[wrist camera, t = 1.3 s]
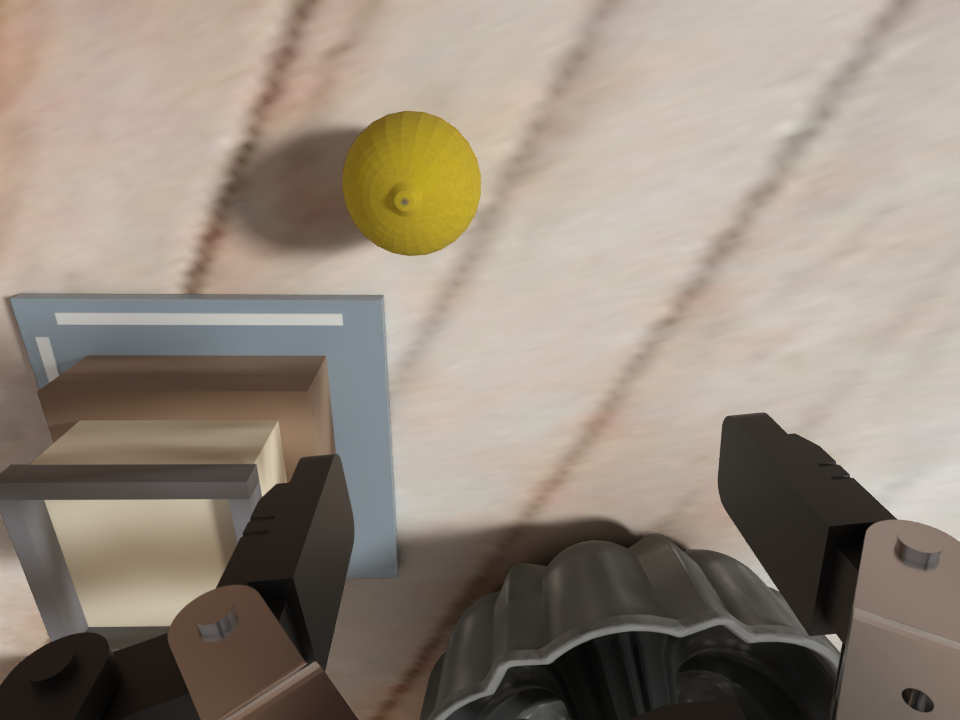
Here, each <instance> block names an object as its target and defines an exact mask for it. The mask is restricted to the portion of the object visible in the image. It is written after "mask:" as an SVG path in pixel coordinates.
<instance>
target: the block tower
mask: <svg viewBox="0 0 960 720" xmlns="http://www.w3.org/2000/svg"><path fill="white" fill-rule="evenodd" d="M37 392H38V396H39V399H40V402H41V405H42V408H43V411H44V414H45V417H46V420H47V423H48V426H49V429H50V432H51V435H52V438H53V441H54V443H53V444H52V445H51V446H50V447H49V448H47V449H46V450H45V451H44V452H43V453H42V454H40V455H39V456H38V457H37V458H36V459H35V460H34V461H32V462H31V463H30V464H29V465H10V466H9V467H8V468H7V469H5V470H4V471H3V472H2V473H1V474H0V512H1V515H2V517H3V520H4V522H5V525H6V528H7V530H8V533H9V535H10V538H11V540H12V543H13V545H14V548H15V550H16V553H17V556H18V558H19V561H20V563H21V566H22V568H23V571H24V573H25V576H26V579H27V581H28V584H29V586H30V589H31V591H32V594H33V596H34V599H35V602H36V604H37V607H38V609H39V612H40V614H41V617H42V619H43V622H44V625H45V627H46V630H47V632H48V635H49V637H50V640H51V642H52V641H55V640H57V639H60V638H62V637H65V636H68V635H72V634H77V633H84V632H90V633H97V634H100V635H102V636H103V637H105V639H106V640H107V641H108V643H109V646H110V648H111V650H112V652H114V651H117V650H120V649H123V648H126V647H129V646H132V645H135V644H138V643H141V642H144V641H147V640H149V639H152V638H155V637H158V636H161V635H163V634H166V633H168V631H169V628H170V625H171V623H172V621H173V620H174V618H175V617H176V615H177V614H178V613H179V612H180V611H181V610H182V609H183V608H184V607H185V606H186V605H187V604H188V603H190V602H191V601H193V600H194V599H195V598H197V597H199V596H200V595H202V594H204V593H206V592H208V591H210V590H213V589H216V587H217V585H218V583H219V580H220V578H221V576H222V574H223V572H224V570H225V568H226V566H227V564H228V562H229V560H230V558H231V556H232V554H233V552H234V550H235V548H236V546H237V544H238V542H239V540H240V537H243V531H244V529H245V527H246V525H247V523H248V522H250V517H251V515H252V513H253V511H254V509H255V507H256V505H257V503H258V501H259V500H260V499H261V498H262V497H263V496H264V495H265V494H266V493H267V492H268V491H269V490H270V489H271V488H272V487H273V486H275V485H276V484H279V483H289V482H290V480H291V478H292V476H293V473H294V471H295V469H296V466H297V464H298V462H299V460H300V458H302V457H308V456H318V455H329V454H336V448H335V438H334V429H333V419H332V409H331V399H330V389H329V379H328V369H327V359H326V356H216V355H88V356H87V357H85V358H84V359H82V360H81V361H79V362H78V363H77V364H75V365H74V366H72V367H71V368H70V369H68V370H67V371H65V372H64V373H62V374H61V375H60V376H58V377H57V378H55V379H54V380H53V381H51V382H50V383H48V384H47V385H45V386H44V387H43V388H41V389H40V390H38V391H37Z"/></svg>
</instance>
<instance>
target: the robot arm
mask: <svg viewBox="0 0 960 720" xmlns="http://www.w3.org/2000/svg"><path fill="white" fill-rule="evenodd" d="M718 489H719V494H720V498H721V501H722V504H723V506H724V508H725V510H726V512H727V513H728V515H729V516H730V518H731V519H732V521H733V522H734V524H735V525H736V527H737V528H738V530H739V531H740V533H741V534H742V536H743V537H744V539H745V540H746V542H747V543H748V545H749V546H750V548H751V549H752V551H753V552H754V554H755V555H756V557H757V558H758V560H759V561H760V563H761V564H762V566H763V567H764V569H765V570H766V572H767V573H768V575H769V576H770V578H771V579H772V581H773V582H774V584H775V585H776V587H777V588H778V590H779V591H780V593H781V594H782V596H783V597H784V599H785V600H786V602H787V603H788V605H789V606H790V608H791V610H792V611H793V613H794V614H795V616H796V617H797V619H798V620H799V622H800V623H801V625H802V626H803V628H804V629H805V631H806V632H807V634H808V635H809V636H817V635H827V634H837V636H838V637H839V638H840V640H841V641H842V648H841V652H840V657H839V663H838V668H837V674H836V680H835V685H834V691H833V697H832V702H831V708H830V714H829V719H828V720H960V542H959V541H957V540H956V539H955V538H953V537H952V536H950V535H948V534H946V533H945V532H942V531H940V530H938V529H936V528H933V527H931V526H928V525H925V524H921V523H917V522H913V521H906V520H897V519H896V518H895V517H894V516H893V515H892V514H891V513H890V512H889V511H888V510H887V509H886V508H885V507H883V506H882V505H881V504H880V503H879V502H878V501H877V500H876V499H875V498H874V497H873V496H872V495H871V494H870V493H869V492H868V491H867V490H865V489H864V488H863V487H862V486H861V485H860V484H859V483H858V482H857V481H856V480H855V479H854V478H850V474H849V473H847V472H846V471H845V470H844V469H843V468H842V467H841V466H840V465H836V461H835V460H834V459H833V458H832V457H830V456H829V455H828V454H827V453H826V452H825V451H824V450H823V449H822V448H821V447H820V446H818V445H816V444H814V443H813V442H811V441H809V440H807V439H805V438H803V437H801V436H799V435H797V434H787V433H786V432H785V431H784V430H783V429H782V428H781V427H780V426H779V425H778V424H777V423H776V422H775V421H774V420H773V419H772V418H771V417H770V416H769V415H768V414H766V413H753V414H743V415H733V416H727V417H726V418H725V419H724V421H723V425H722V434H721V446H720V458H719V470H718ZM353 544H354V517H353V512H352V507H351V502H350V498H349V493H348V488H347V484H346V479H345V475H344V470H343V465H342V461H341V458H340V456H339V455H338V454H329V455H318V456H308V457H302V458H300V460H299V462H298V464H297V466H296V469H295V471H294V473H293V476H292V478H291V480H290V482H289V483H279V484H276V485H275V486H273V487H272V488H271V489H270V490H269V491H268V492H267V493H266V494H265V495H264V496H263V497H262V498H261V499H260V500H259V501H258V503H257V505H256V507H255V509H254V511H253V513H252V515H251V517H250V522H248V523H247V525H246V527H245V529H244V531H243V537H240V540H239V542H238V544H237V546H236V548H235V550H234V552H233V554H232V556H231V558H230V560H229V562H228V564H227V566H226V568H225V570H224V572H223V574H222V576H221V578H220V580H219V583H218V585H217V587H216V589H213V590H210V591H208V592H206V593H204V594H202V595H200V596H199V597H197V598H195V599H194V600H193V601H191V602H190V603H188V604H187V605H186V606H185V607H184V608H183V609H182V610H181V611H180V612H179V613H178V614H177V615H176V617H175V618H174V620H173V621H172V623H171V625H170V628H169V631H168V633H166V634H163V635H161V636H158V637H155V638H152V639H149V640H147V641H144V642H141V643H138V644H135V645H132V646H129V647H126V648H123V649H120V650H117V651H114V652H112V650H111V648H110V646H109V643H108V641H107V640H106V639H105V637H103V636H102V635H100V634H97V633H90V632H84V633H77V634H72V635H68V636H65V637H62V638H60V639H57V640H55V641H52V642H50V643H49V644H47V645H45V646H43V647H41V648H40V649H38V650H36V651H35V652H33V653H32V654H31V655H29V656H28V657H26V658H25V659H24V660H23V661H22V662H20V663H19V664H18V665H17V666H16V667H15V668H14V669H13V670H12V671H11V672H10V674H9V675H8V676H7V677H6V679H5V680H4V681H3V683H2V684H1V685H0V720H358V719H357V717H356V716H355V715H354V713H353V712H352V710H351V709H350V707H349V706H348V705H347V703H346V702H345V700H344V699H343V697H342V696H341V695H340V693H339V692H338V690H337V689H336V687H335V686H334V685H333V683H332V682H331V680H330V679H329V677H328V676H327V674H326V673H325V669H326V664H327V660H328V655H329V651H330V646H331V642H332V638H333V633H334V629H335V624H336V620H337V616H338V611H339V607H340V602H341V598H342V593H343V589H344V585H345V580H346V576H347V571H348V567H349V562H350V558H351V554H352V549H353ZM516 720H528V719H516ZM627 720H746V719H745V717H744V714H743V712H742V710H741V708H740V706H739V704H738V702H737V700H736V698H728V699H718V700H708V701H698V702H687V703H677V704H667V705H664V706H661V707H659V708H656V709H654V710H651V711H648V712H646V713H643V714H641V715H638V716H635V717H633V718H630V719H627Z"/></svg>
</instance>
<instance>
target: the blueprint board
mask: <svg viewBox="0 0 960 720" xmlns="http://www.w3.org/2000/svg"><path fill="white" fill-rule="evenodd" d="M10 301H11V304H12V307H13V310H14V313H15V316H16V319H17V323H18V326H19V329H20V332H21V335H22V338H23V341H24V344H25V347H26V350H27V353H28V356H29V360H30V363H31V366H32V369H33V372H34V375H35V378H36V381H37V384H38V387H39V390H40V389H41V388H43V387H44V386H45V385H47V384H48V383H50V382H51V381H53V380H54V379H55V378H57V377H58V376H60V375H61V374H62V373H64V372H65V371H67V370H68V369H70V368H71V367H72V366H74V365H75V364H77V363H78V362H79V361H81V360H82V359H84V358H85V357H87V356H88V355H216V356H326V359H327V369H328V379H329V389H330V399H331V409H332V419H333V429H334V438H335V448H336V454H338V455H339V456H340V458H341V461H342V465H343V470H344V475H345V479H346V484H347V488H348V493H349V498H350V502H351V507H352V512H353V517H354V544H353V549H352V554H351V558H350V562H349V567H348V571H347V576H346V578H398V570H399V564H398V546H397V528H396V510H395V492H394V474H393V456H392V438H391V420H390V402H389V384H388V366H387V348H386V330H385V312H384V295H217V294H19V295H17V296H14V297H12V298H10Z"/></svg>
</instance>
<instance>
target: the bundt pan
mask: <svg viewBox="0 0 960 720" xmlns="http://www.w3.org/2000/svg"><path fill="white" fill-rule="evenodd" d="M839 657H840V652H839V651H838V650H837V648H836V647H835V646H834V645H833V644H832V643H831V642H830V641H829V640H828V639H827V637H826V636H825V635H817V636H809V635H808V634H807V632H806V631H805V629H804V628H803V626H802V625H801V623H800V622H799V620H798V619H797V617H796V616H795V614H794V613H793V611H792V610H791V608H790V606H789V605H788V603H787V602H786V600H785V599H784V597H783V596H782V594H781V593H780V592H779V591H777V590H775V589H772V588H770V587H767V586H766V584H765V583H764V582H763V581H762V580H761V579H760V578H759V577H758V576H757V575H756V574H755V573H754V572H753V571H752V570H751V569H749V568H748V567H747V566H745V565H744V564H742V563H741V562H739V561H737V560H735V559H734V558H732V557H729V556H727V555H725V554H722V553H719V552H715V551H710V550H687V551H682V550H681V549H680V548H678V547H677V546H676V545H675V544H674V543H673V542H672V541H671V540H669V539H668V538H667V537H665V536H663V535H660V534H650V535H647V536H646V537H644V538H643V539H641V540H640V541H638V542H637V543H635V544H634V545H632V546H631V547H629V548H628V549H627V548H626V547H623V546H621V545H619V544H615V543H612V542H609V541H600V540H590V541H584V542H580V543H577V544H574V545H572V546H569V547H568V548H566V549H564V550H563V551H561V552H560V553H559V554H558V555H557V556H556V557H555V558H554V559H553V560H552V561H551V562H550V563H549V565H548V566H543V565H536V564H530V563H518V564H515V565H514V566H513V567H512V568H511V569H510V570H509V572H508V574H507V576H506V579H505V581H504V584H503V586H502V589H501V591H496V592H493V593H490V594H488V595H485V596H483V597H481V598H480V599H478V600H476V601H475V602H474V603H473V604H471V605H470V606H469V607H468V608H467V609H466V610H465V611H464V613H463V614H462V615H461V617H460V618H459V619H458V621H457V622H456V624H455V626H454V628H453V630H452V633H451V635H450V638H449V641H448V644H447V649H446V652H445V653H444V654H443V655H442V656H441V657H440V659H439V660H438V661H437V663H436V664H435V666H434V668H433V670H432V672H431V674H430V678H429V681H428V684H427V689H426V694H425V698H424V703H423V707H422V711H421V716H420V720H516V719H528V720H627V719H630V718H633V717H635V716H638V715H641V714H643V713H646V712H648V711H651V710H654V709H656V708H659V707H661V706H664V705H667V704H677V703H687V702H698V701H708V700H718V699H728V698H736V700H737V702H738V704H739V706H740V708H741V710H742V712H743V714H744V717H745V719H746V720H828V719H829V714H830V708H831V702H832V697H833V691H834V685H835V680H836V674H837V668H838V663H839Z"/></svg>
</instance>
